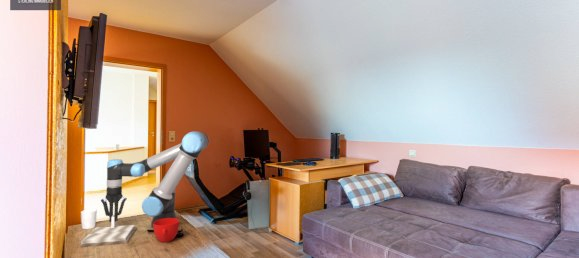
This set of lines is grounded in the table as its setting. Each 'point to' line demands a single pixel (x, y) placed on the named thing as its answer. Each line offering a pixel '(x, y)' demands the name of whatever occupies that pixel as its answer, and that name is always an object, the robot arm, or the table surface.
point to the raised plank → (113, 229)
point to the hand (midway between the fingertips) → (113, 227)
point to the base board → (106, 238)
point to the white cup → (88, 218)
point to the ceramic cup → (166, 229)
